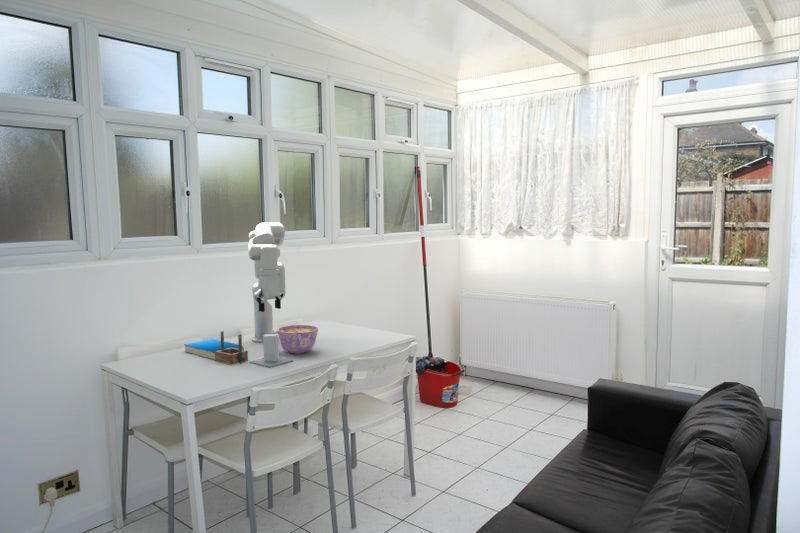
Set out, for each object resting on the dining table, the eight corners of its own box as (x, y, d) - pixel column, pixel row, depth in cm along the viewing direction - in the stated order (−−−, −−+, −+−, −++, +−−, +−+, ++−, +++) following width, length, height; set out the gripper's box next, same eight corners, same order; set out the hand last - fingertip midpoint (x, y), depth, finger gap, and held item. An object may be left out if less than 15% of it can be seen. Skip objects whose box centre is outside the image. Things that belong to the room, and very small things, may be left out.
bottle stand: (230, 356, 261) (229, 329, 260) (249, 360, 253) (249, 333, 252) (213, 360, 253) (212, 333, 252) (233, 365, 245) (232, 336, 244)
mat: (272, 356, 261) (272, 355, 261) (293, 361, 253) (293, 359, 253) (249, 363, 249) (249, 361, 249) (270, 367, 241) (270, 366, 241)
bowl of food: (309, 357, 259) (309, 333, 258) (270, 355, 263) (270, 332, 262) (323, 348, 278) (323, 325, 277) (287, 346, 282) (286, 324, 281)
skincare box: (278, 359, 253) (278, 333, 252) (276, 362, 249) (276, 336, 247) (265, 359, 253) (264, 333, 252) (263, 362, 248) (262, 336, 247)
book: (214, 352, 255) (183, 343, 270) (214, 361, 255) (183, 352, 270) (244, 345, 269) (213, 337, 283) (244, 353, 269) (213, 345, 284)
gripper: (277, 270, 257) (278, 306, 259) (248, 273, 243) (249, 311, 244) (289, 271, 253) (289, 308, 254) (260, 275, 238) (260, 313, 240)
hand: (269, 309), depth 249 cm, fingers open, 9 cm apart
